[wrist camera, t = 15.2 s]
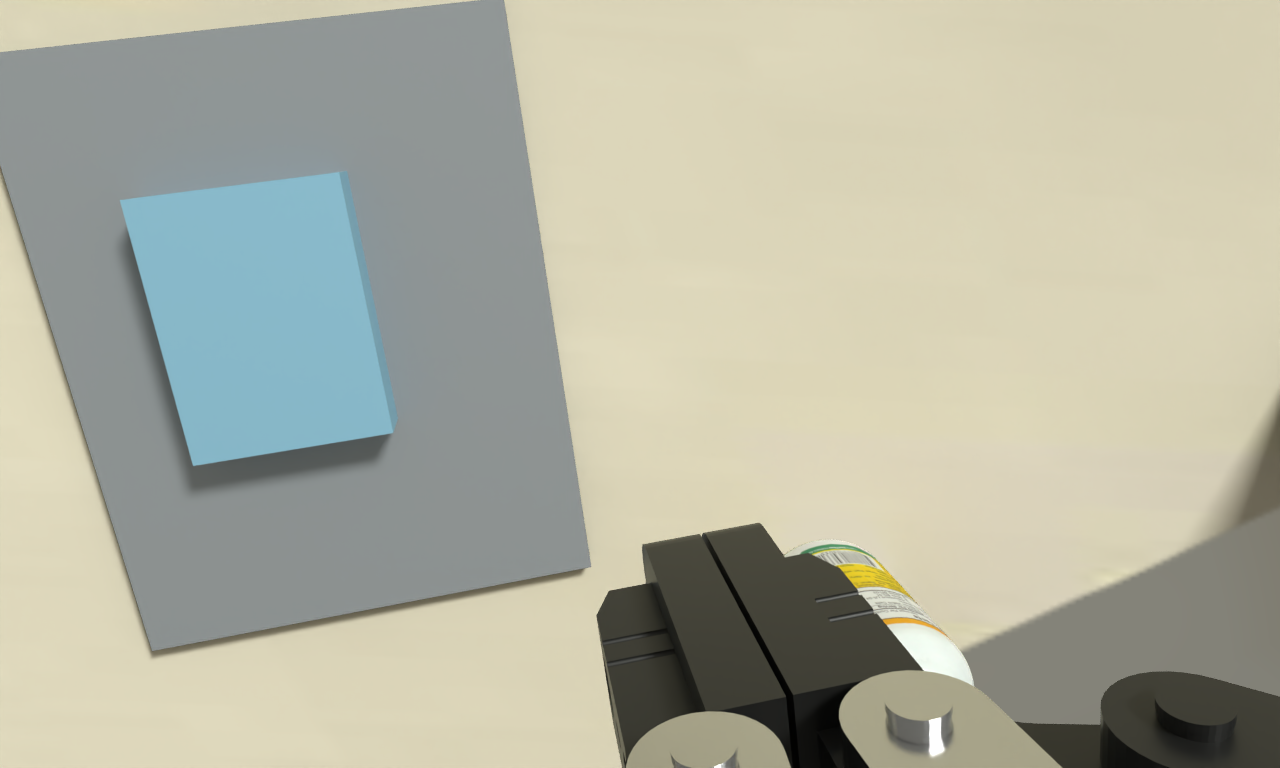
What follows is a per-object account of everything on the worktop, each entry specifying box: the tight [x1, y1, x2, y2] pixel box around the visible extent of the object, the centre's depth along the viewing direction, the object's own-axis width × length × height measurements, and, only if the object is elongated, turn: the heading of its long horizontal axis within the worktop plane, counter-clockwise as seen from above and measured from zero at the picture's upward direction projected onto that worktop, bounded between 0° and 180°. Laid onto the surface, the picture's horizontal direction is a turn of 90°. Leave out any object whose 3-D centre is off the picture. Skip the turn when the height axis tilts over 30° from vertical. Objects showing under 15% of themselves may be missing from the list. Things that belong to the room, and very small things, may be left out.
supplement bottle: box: [784, 539, 974, 686], centre depth 30 cm, size 5×5×10 cm
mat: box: [0, 0, 591, 651], centre depth 29 cm, size 15×19×1 cm
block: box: [120, 171, 398, 466], centre depth 27 cm, size 2×8×6 cm
